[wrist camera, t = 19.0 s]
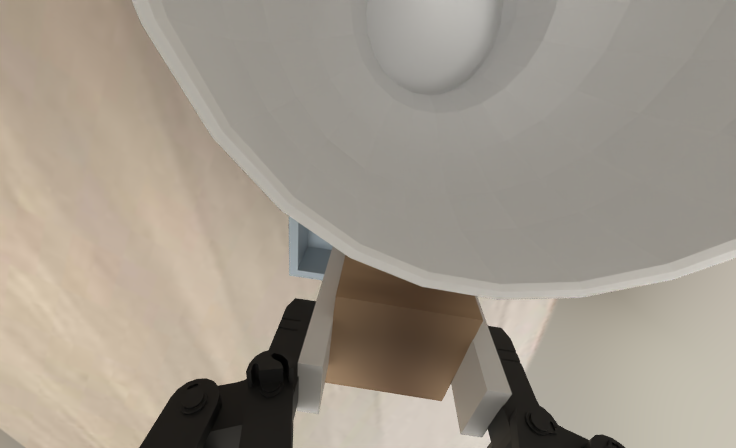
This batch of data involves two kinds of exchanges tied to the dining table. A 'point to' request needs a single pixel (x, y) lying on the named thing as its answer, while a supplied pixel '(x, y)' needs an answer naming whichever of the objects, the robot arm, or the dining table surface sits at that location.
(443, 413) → the dining table surface
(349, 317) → the walnut cube
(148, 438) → the robot arm
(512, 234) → the cup
